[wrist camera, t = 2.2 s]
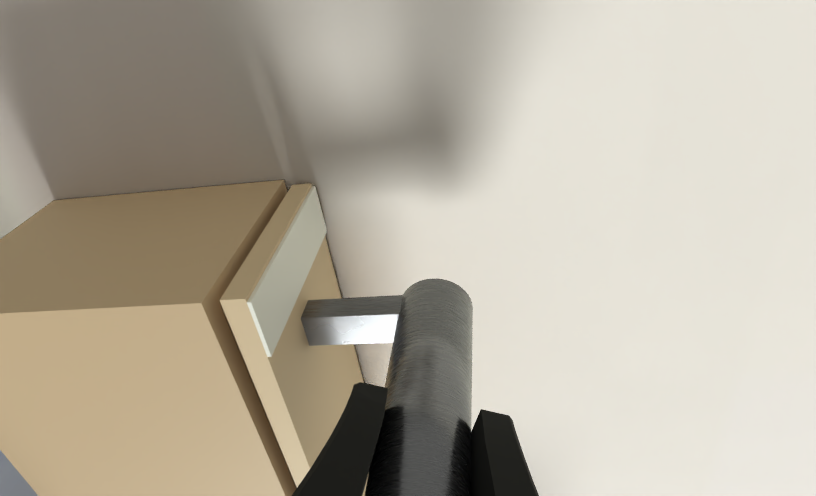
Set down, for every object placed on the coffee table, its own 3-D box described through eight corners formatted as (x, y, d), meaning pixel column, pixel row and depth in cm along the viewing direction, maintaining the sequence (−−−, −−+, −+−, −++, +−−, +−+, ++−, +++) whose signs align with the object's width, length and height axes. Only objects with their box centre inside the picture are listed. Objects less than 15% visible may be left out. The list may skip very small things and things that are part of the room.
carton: (184, 439, 24) (108, 580, 19) (53, 200, 18) (-109, 319, 13) (359, 437, 23) (326, 589, 18) (283, 179, 17) (201, 303, 12)
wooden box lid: (363, 437, 23) (300, 744, 14) (292, 184, 17) (111, 471, 8) (491, 436, 22) (498, 762, 14) (464, 169, 16) (451, 472, 8)
